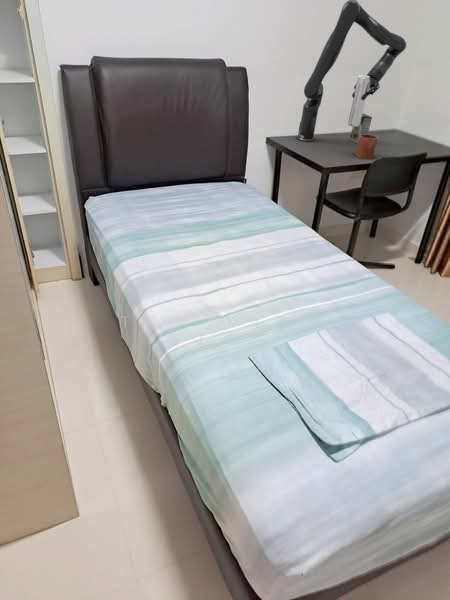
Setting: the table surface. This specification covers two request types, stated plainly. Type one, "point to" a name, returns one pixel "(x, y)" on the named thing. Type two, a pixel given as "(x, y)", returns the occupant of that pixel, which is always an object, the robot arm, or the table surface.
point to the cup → (366, 146)
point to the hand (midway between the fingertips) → (357, 97)
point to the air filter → (358, 100)
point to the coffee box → (361, 128)
